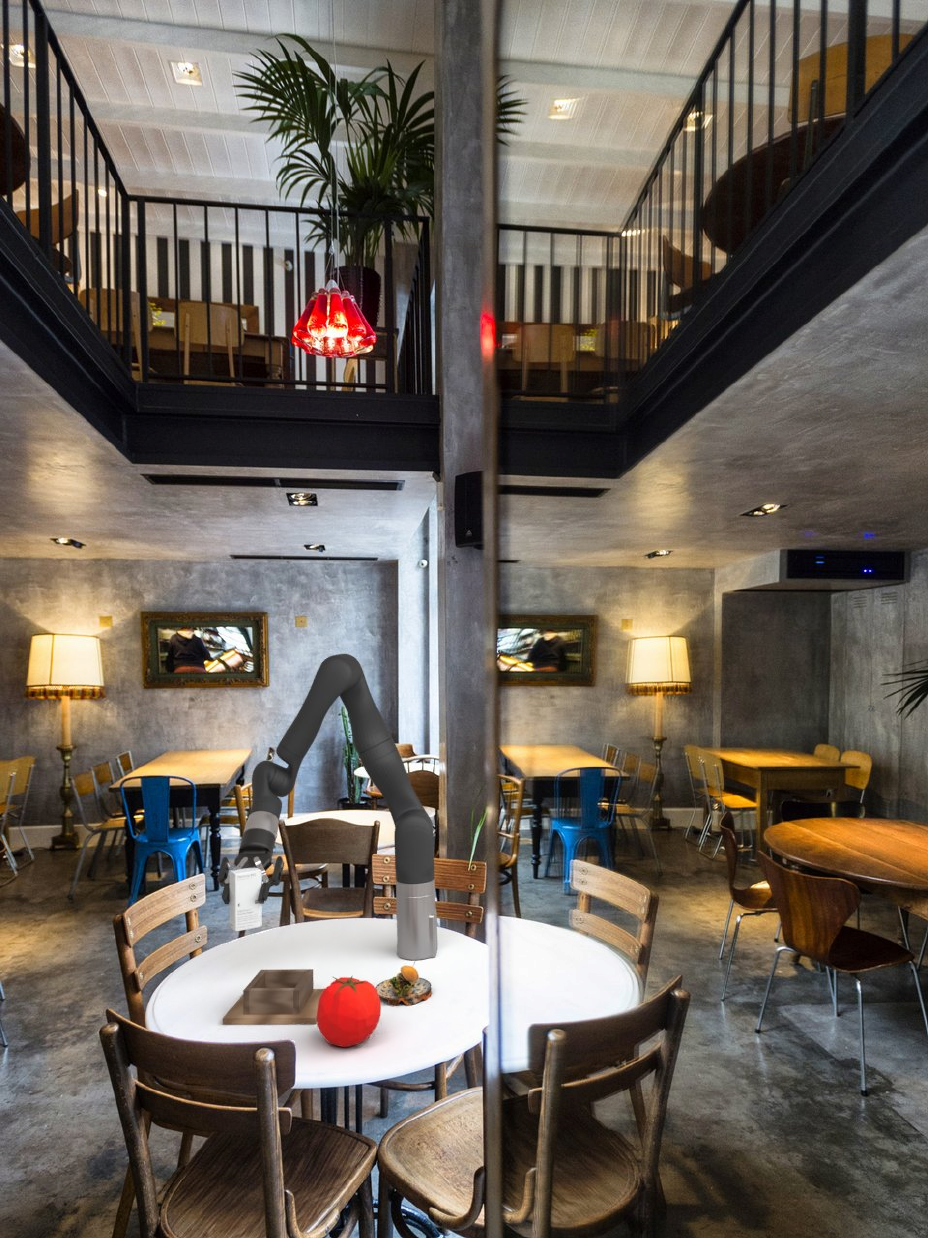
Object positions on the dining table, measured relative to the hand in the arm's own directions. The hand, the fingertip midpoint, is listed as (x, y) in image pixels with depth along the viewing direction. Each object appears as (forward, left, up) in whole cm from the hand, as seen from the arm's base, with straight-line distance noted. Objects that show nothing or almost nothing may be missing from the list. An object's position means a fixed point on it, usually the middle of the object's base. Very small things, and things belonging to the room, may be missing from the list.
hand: (243, 902), depth 168 cm
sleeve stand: (-11, +11, -18) cm, 24 cm away
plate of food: (-35, +4, -19) cm, 40 cm away
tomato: (-28, +25, -18) cm, 41 cm away
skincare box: (0, -2, -6) cm, 6 cm away
